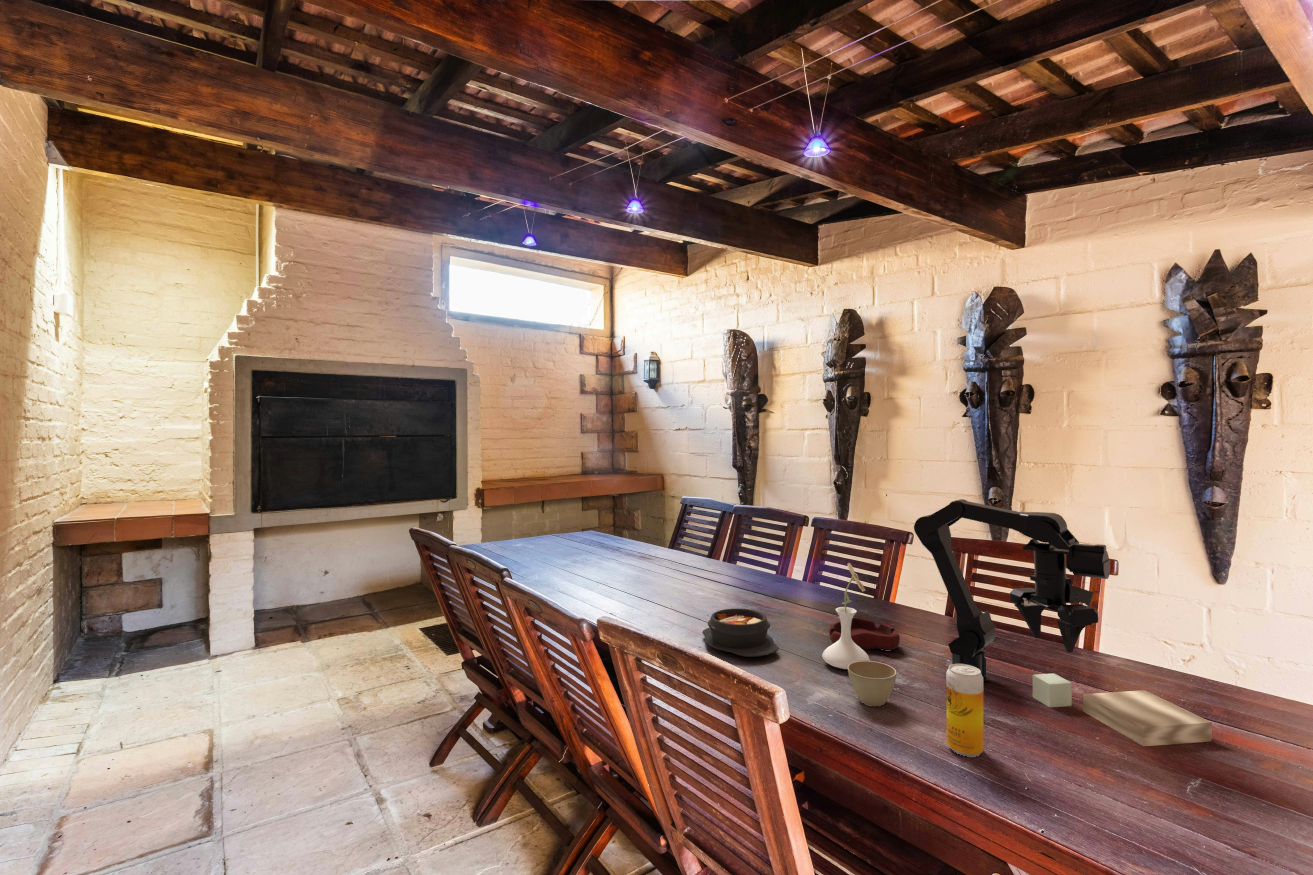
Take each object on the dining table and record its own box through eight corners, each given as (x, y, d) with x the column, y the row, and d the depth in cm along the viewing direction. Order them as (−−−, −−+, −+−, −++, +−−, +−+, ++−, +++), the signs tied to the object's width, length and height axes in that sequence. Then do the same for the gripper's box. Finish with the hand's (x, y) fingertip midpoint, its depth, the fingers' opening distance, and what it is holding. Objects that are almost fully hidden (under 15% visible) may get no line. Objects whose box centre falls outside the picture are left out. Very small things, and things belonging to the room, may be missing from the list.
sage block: (1049, 707, 129) (1049, 684, 129) (1032, 697, 134) (1032, 674, 134) (1071, 706, 129) (1071, 682, 129) (1053, 695, 134) (1053, 673, 134)
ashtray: (886, 634, 175) (886, 617, 175) (903, 655, 159) (903, 636, 159) (823, 633, 177) (822, 616, 177) (833, 654, 161) (833, 635, 161)
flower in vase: (864, 677, 145) (865, 573, 144) (816, 667, 151) (817, 567, 150) (875, 658, 157) (876, 562, 156) (830, 650, 162) (831, 556, 161)
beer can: (940, 742, 116) (939, 663, 115) (970, 740, 116) (970, 661, 116) (958, 759, 109) (958, 676, 109) (991, 757, 110) (990, 674, 110)
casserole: (687, 638, 174) (686, 608, 174) (741, 627, 182) (741, 599, 182) (735, 669, 152) (735, 635, 152) (795, 655, 160) (795, 623, 160)
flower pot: (895, 694, 136) (895, 662, 136) (897, 715, 126) (897, 680, 126) (848, 689, 139) (848, 657, 139) (847, 708, 130) (846, 675, 130)
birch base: (1143, 748, 113) (1143, 727, 113) (1083, 713, 127) (1083, 694, 127) (1211, 743, 115) (1211, 722, 114) (1144, 708, 128) (1144, 690, 128)
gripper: (1121, 579, 123) (1124, 657, 123) (1051, 561, 142) (1054, 628, 142) (1071, 583, 122) (1074, 661, 122) (1007, 564, 141) (1009, 632, 141)
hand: (1052, 644), depth 132 cm, fingers open, 9 cm apart
